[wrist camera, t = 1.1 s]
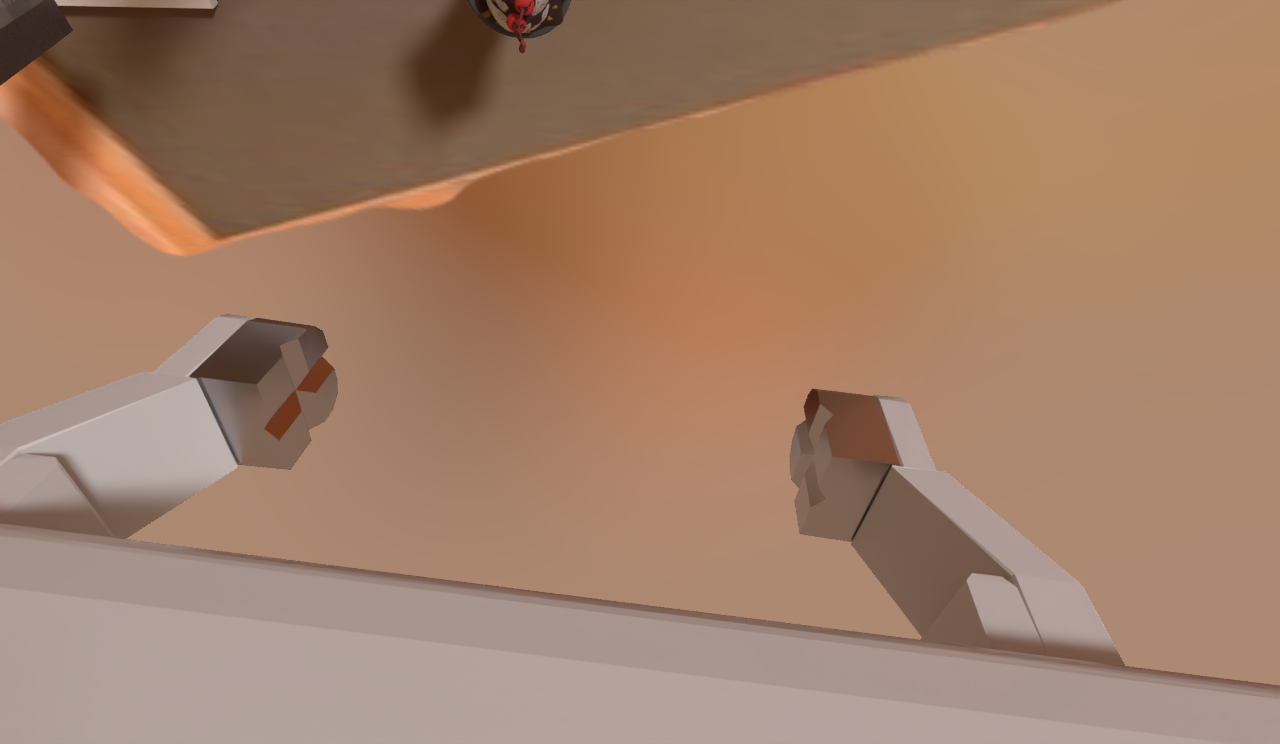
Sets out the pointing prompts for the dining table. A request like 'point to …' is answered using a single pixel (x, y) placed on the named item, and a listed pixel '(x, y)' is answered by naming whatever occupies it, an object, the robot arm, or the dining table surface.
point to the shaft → (28, 32)
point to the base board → (141, 3)
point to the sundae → (521, 16)
